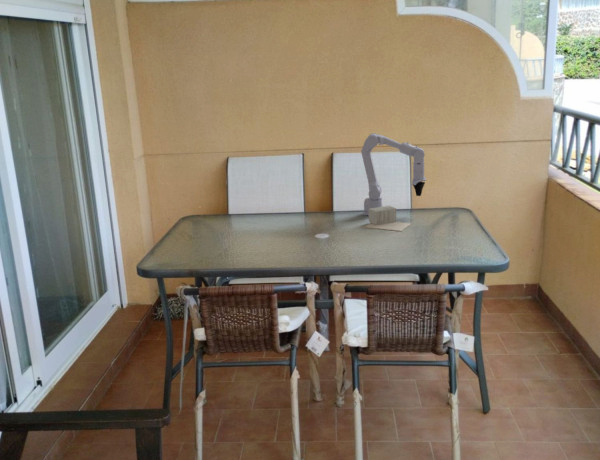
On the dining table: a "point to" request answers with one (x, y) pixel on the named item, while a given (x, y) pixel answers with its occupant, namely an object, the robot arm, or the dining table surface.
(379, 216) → the supplement box
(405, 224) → the mat
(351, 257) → the dining table surface
